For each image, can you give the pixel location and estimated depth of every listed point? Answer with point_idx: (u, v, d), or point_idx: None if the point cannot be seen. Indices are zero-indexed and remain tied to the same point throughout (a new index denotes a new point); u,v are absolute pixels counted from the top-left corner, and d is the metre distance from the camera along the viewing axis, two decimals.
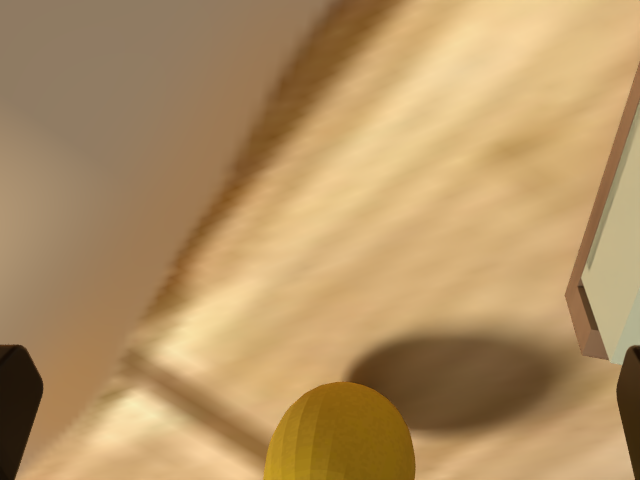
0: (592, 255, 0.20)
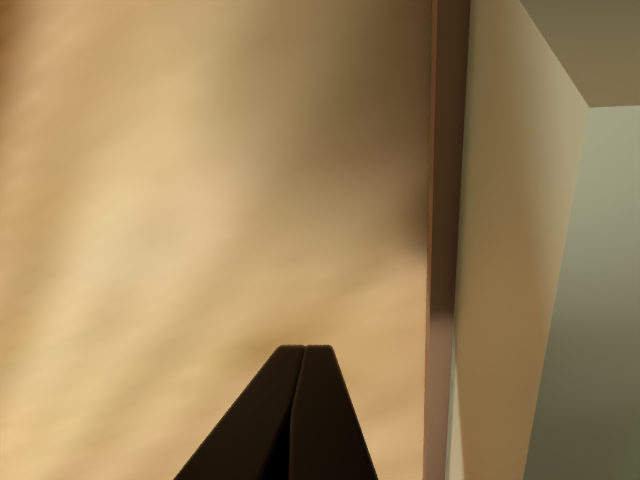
0: None
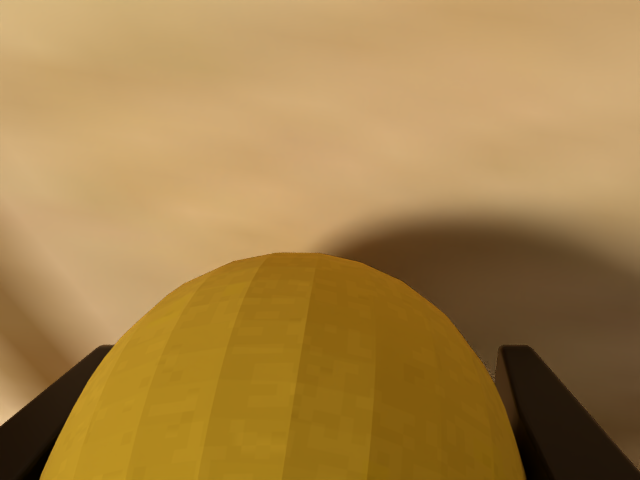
0: None
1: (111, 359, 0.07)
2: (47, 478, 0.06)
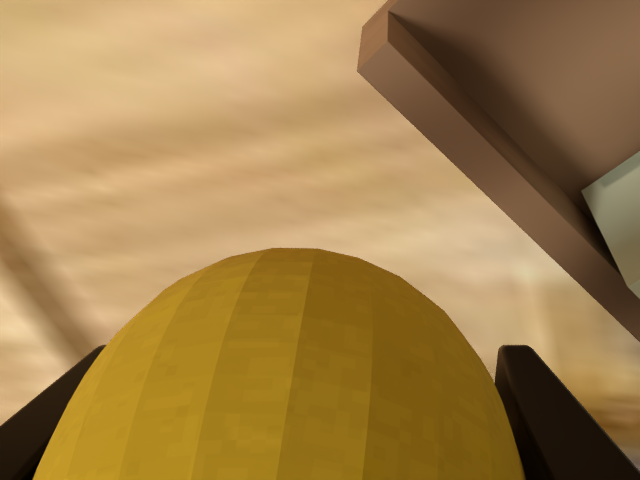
0: (618, 175, 0.18)
1: (107, 354, 0.06)
2: (41, 473, 0.06)
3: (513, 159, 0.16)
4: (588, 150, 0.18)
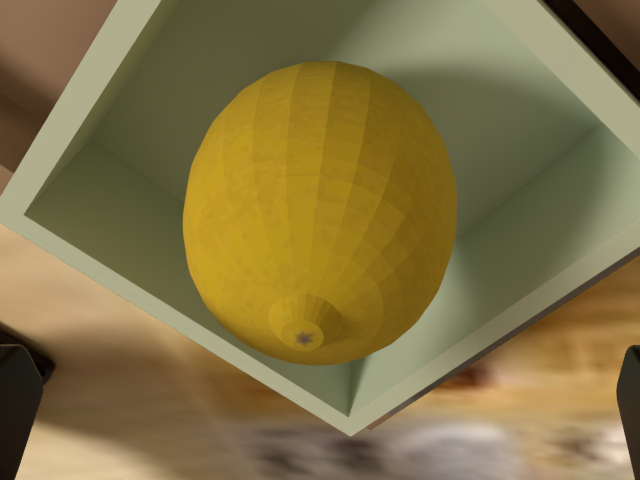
0: None
1: (228, 104, 0.12)
2: (205, 146, 0.11)
3: None
4: (57, 86, 0.17)
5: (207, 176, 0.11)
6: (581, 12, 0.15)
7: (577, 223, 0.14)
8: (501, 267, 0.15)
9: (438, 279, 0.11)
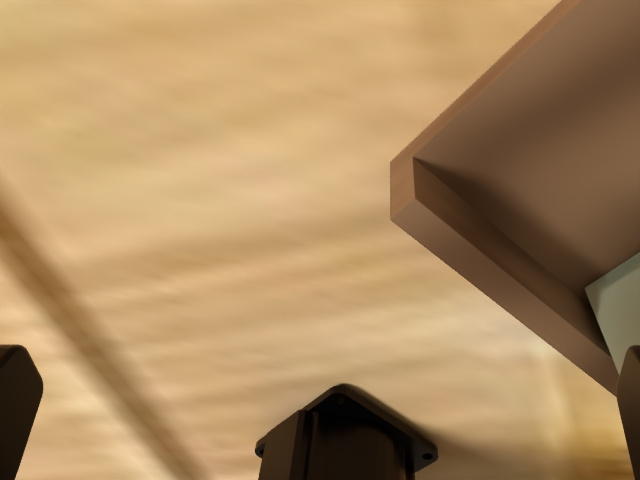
0: (615, 277, 0.20)
1: None
2: None
3: (524, 276, 0.19)
4: (589, 256, 0.21)
5: None
6: None
7: None
8: None
9: None
